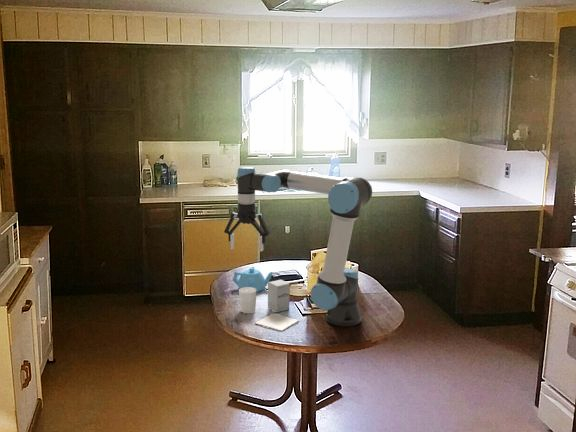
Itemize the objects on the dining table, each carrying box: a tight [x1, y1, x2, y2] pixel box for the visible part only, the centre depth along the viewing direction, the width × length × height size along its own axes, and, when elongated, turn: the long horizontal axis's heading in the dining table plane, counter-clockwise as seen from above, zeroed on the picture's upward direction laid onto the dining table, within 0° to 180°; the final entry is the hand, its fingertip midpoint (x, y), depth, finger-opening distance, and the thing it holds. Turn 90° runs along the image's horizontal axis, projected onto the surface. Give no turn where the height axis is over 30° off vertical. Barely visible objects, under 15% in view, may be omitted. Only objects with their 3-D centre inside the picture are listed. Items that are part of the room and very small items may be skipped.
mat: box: [254, 313, 300, 333], centre depth 266 cm, size 14×13×1 cm
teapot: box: [231, 266, 273, 293], centre depth 308 cm, size 15×15×11 cm
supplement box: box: [267, 279, 291, 313], centre depth 281 cm, size 7×7×13 cm
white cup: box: [238, 287, 257, 314], centre depth 279 cm, size 8×8×10 cm
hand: (247, 249), depth 274 cm, fingers open, 13 cm apart
